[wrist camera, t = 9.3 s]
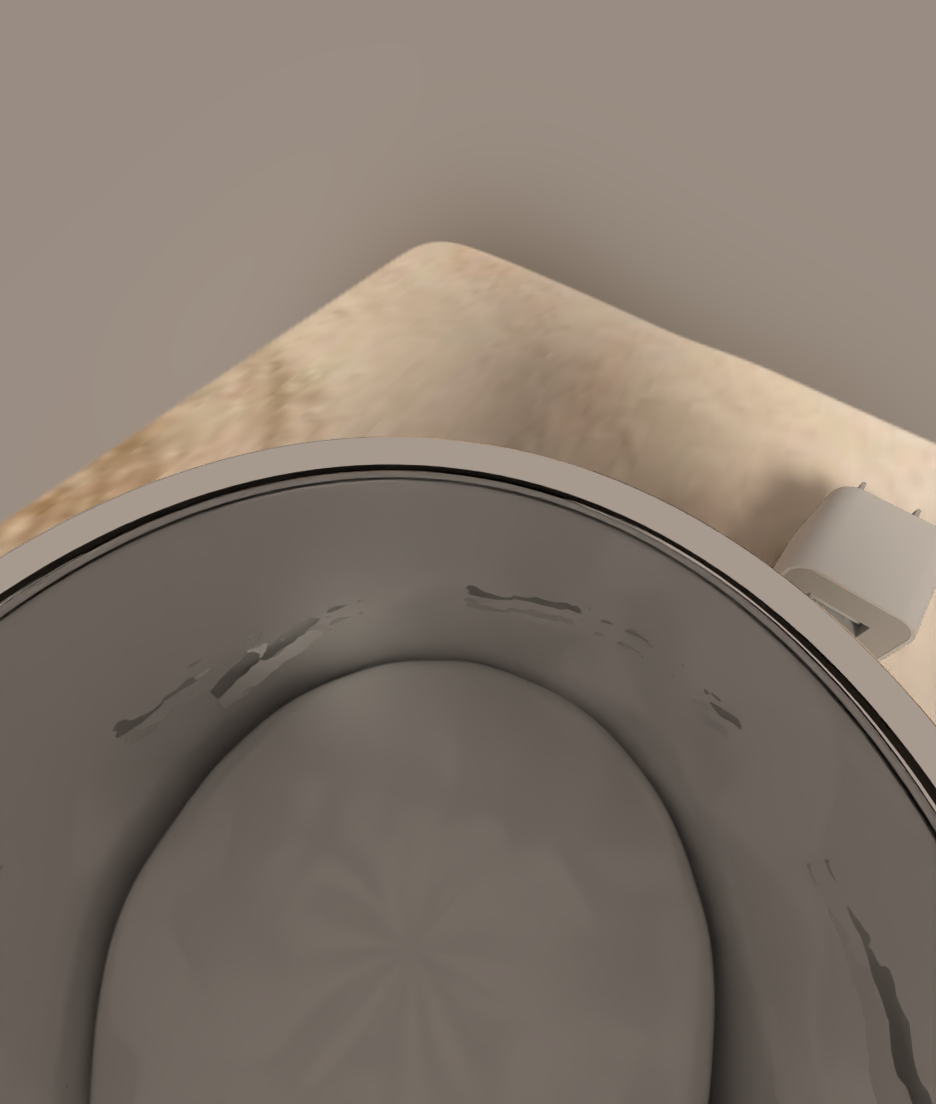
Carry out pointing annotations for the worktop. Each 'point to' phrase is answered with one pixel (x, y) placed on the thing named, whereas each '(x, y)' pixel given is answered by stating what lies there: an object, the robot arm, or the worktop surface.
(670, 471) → the worktop surface
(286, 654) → the silver metal cup
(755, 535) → the worktop surface
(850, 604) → the usb wall charger
